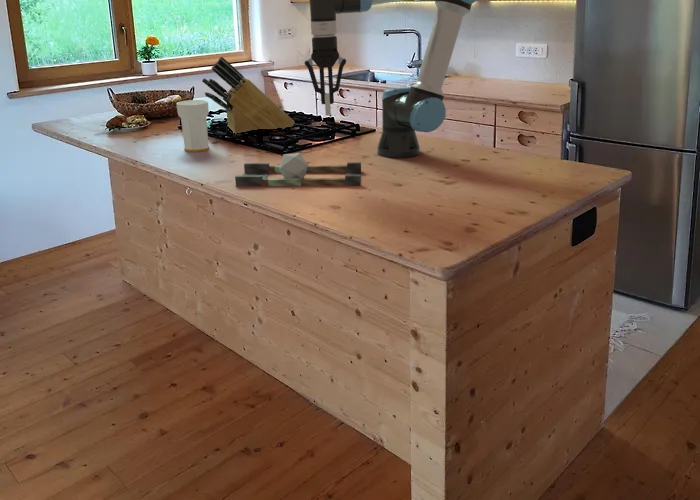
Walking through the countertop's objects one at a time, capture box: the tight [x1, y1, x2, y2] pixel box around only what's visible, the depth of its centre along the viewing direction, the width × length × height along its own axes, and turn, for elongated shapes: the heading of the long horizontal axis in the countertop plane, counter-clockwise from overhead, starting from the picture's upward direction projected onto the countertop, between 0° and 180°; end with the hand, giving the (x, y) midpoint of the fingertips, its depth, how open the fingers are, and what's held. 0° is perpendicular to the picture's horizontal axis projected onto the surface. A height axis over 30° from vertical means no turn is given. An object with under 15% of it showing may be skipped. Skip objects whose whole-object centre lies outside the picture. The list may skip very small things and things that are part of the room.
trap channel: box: [234, 161, 362, 187], centre depth 219 cm, size 38×17×3 cm, turn 88°
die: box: [279, 152, 309, 178], centre depth 217 cm, size 8×9×10 cm
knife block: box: [201, 56, 295, 135], centre depth 283 cm, size 11×35×31 cm, turn 114°
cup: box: [176, 99, 210, 153], centre depth 256 cm, size 11×11×17 cm
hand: (328, 114), depth 216 cm, fingers closed
